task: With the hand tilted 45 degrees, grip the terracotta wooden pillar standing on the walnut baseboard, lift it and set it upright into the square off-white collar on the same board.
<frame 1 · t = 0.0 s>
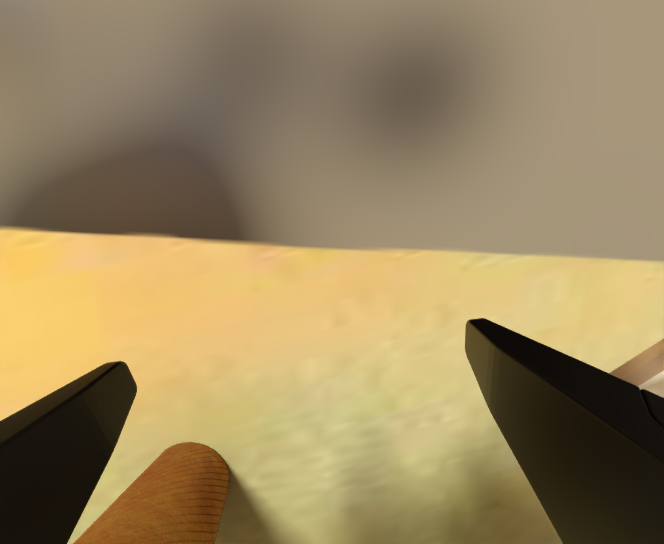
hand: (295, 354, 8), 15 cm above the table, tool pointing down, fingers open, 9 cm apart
disposable coffee cup: (193, 474, 27), on the table
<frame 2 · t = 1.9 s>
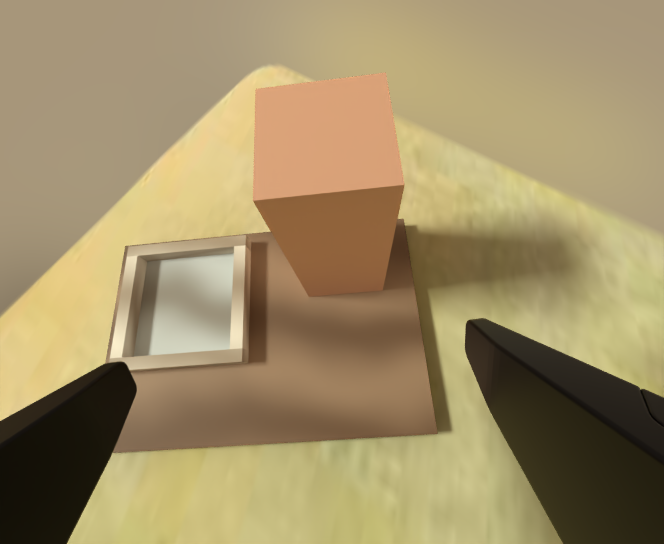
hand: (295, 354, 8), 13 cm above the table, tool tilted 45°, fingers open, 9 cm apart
baseboard: (263, 329, 23), on the table
pillar: (342, 259, 23), point 1 cm above the table, touching baseboard
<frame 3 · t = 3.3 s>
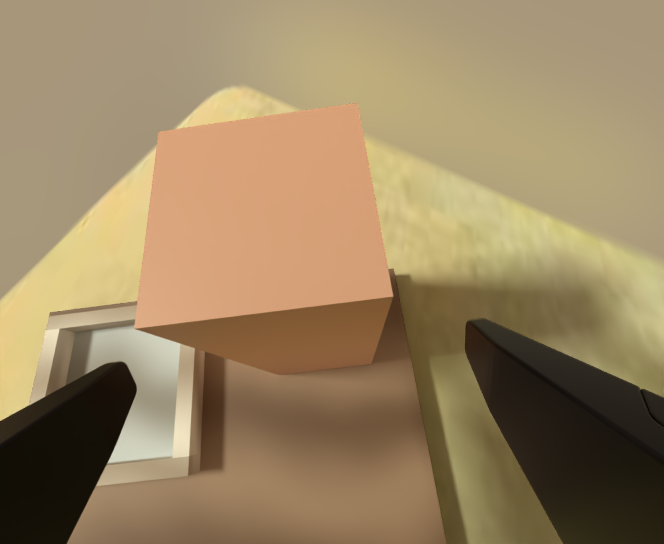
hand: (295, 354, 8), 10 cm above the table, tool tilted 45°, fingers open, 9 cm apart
baseboard: (222, 417, 18), on the table
pillar: (320, 323, 18), point 1 cm above the table, touching baseboard
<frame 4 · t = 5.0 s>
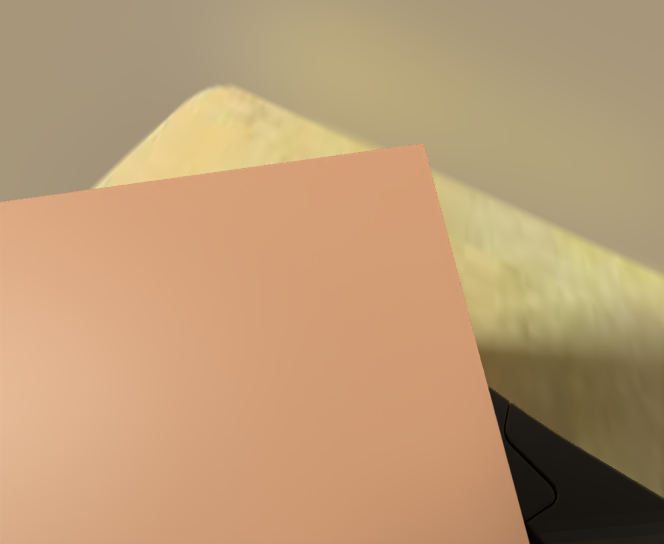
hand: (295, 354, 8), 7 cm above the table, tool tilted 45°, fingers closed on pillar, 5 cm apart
pillar: (324, 406, 14), point 1 cm above the table, touching baseboard, gripper
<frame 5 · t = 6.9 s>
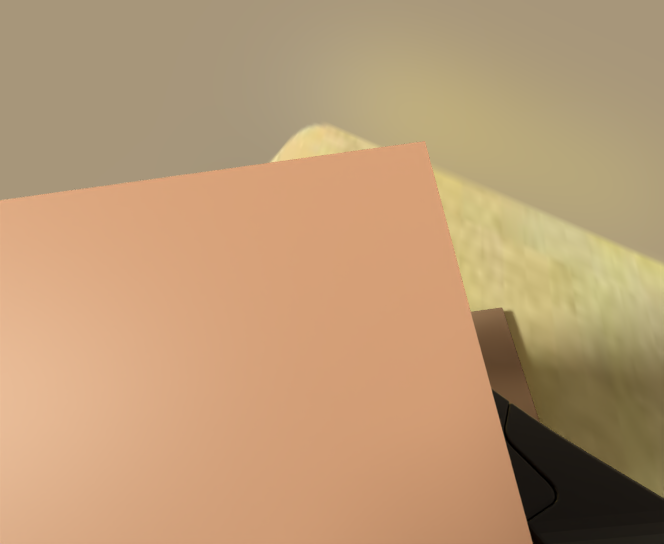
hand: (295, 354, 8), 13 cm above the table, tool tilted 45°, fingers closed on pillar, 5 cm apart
baseboard: (356, 449, 19), on the table
pillar: (324, 405, 14), point 7 cm above the table, touching gripper
when the fingers open (8 cm above the table, at t = 8.9 s): pillar drops 1 cm, resting on baseboard.
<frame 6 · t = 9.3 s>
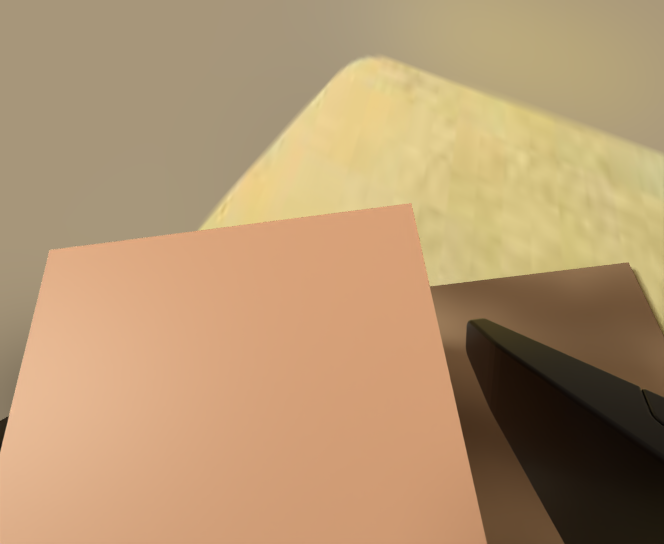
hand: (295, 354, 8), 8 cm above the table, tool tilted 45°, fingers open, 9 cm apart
baseboard: (441, 440, 15), on the table
pillar: (326, 405, 15), point 1 cm above the table, touching baseboard
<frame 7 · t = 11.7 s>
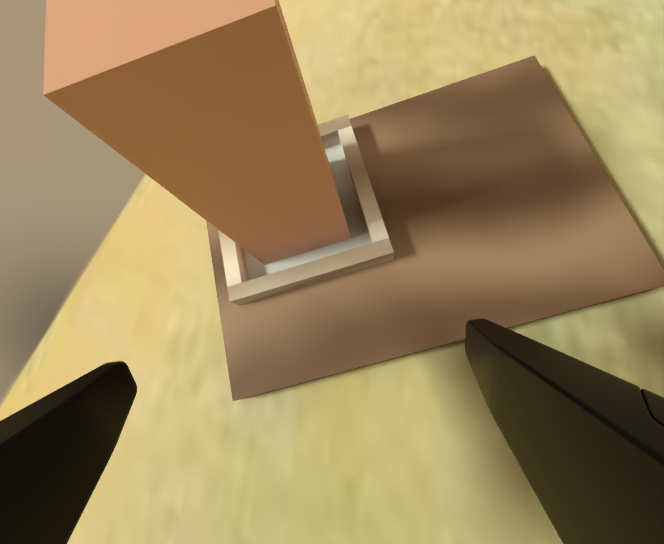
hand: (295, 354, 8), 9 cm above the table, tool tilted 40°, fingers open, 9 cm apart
baseboard: (393, 224, 18), on the table
pillar: (297, 212, 18), point 1 cm above the table, touching baseboard
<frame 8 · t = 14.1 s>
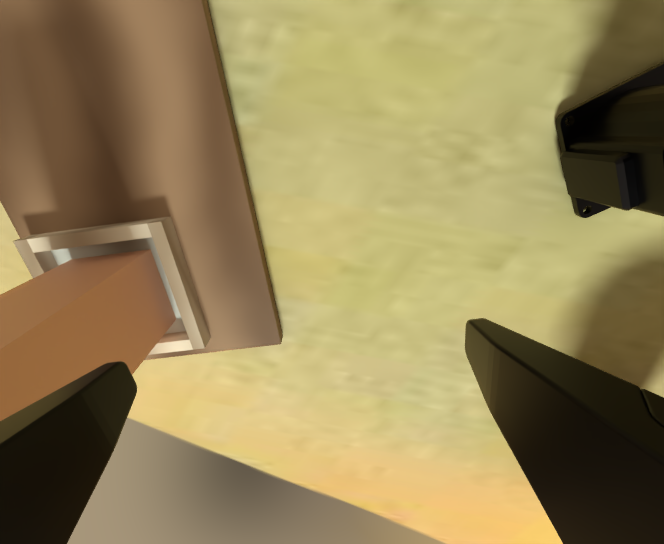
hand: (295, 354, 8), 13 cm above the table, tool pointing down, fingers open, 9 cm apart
baseboard: (137, 206, 20), on the table
pillar: (126, 290, 21), point 1 cm above the table, touching baseboard
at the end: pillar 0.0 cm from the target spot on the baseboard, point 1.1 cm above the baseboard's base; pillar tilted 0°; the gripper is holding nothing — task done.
